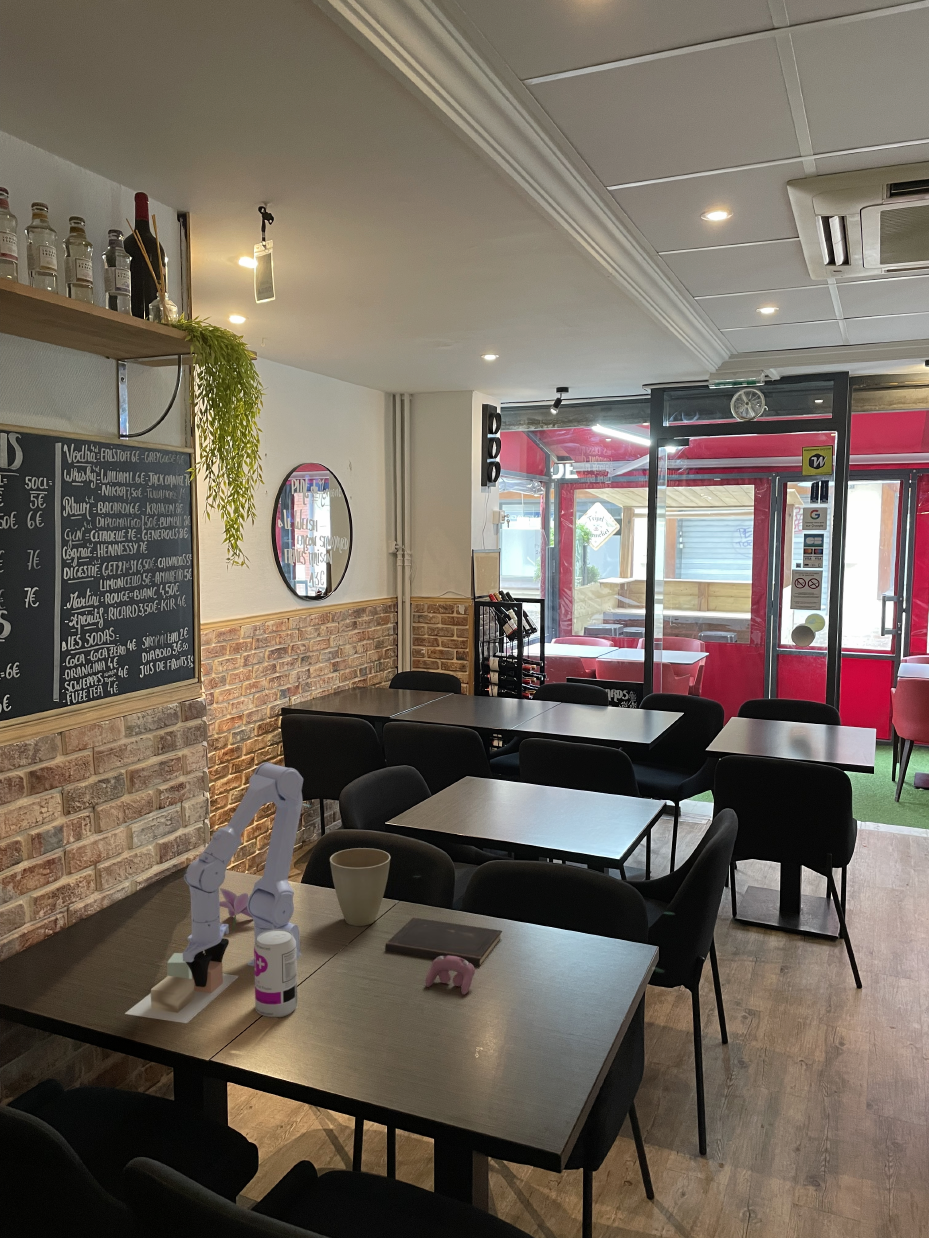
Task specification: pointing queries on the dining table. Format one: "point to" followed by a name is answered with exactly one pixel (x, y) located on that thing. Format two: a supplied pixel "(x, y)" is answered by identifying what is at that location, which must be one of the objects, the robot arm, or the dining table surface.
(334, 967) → the dining table surface
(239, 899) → the lily
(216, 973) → the terracotta block
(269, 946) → the supplement can
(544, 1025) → the dining table surface
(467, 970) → the video game controller
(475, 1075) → the dining table surface
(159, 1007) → the birch base block
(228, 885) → the dining table surface
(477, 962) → the hardcover book
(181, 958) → the sage block
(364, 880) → the plant pot
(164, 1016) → the mat
